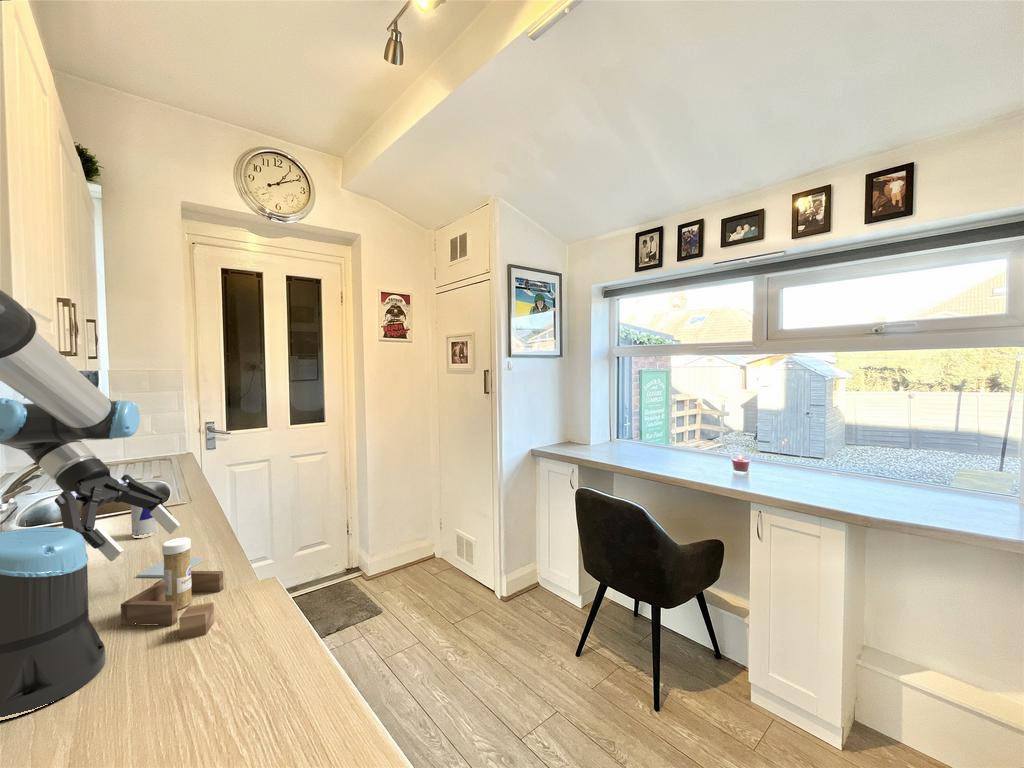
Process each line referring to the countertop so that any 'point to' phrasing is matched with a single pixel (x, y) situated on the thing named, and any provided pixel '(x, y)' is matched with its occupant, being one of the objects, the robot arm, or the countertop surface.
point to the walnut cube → (196, 620)
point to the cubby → (157, 610)
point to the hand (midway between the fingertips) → (148, 541)
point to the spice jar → (177, 571)
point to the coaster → (159, 569)
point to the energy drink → (142, 521)
